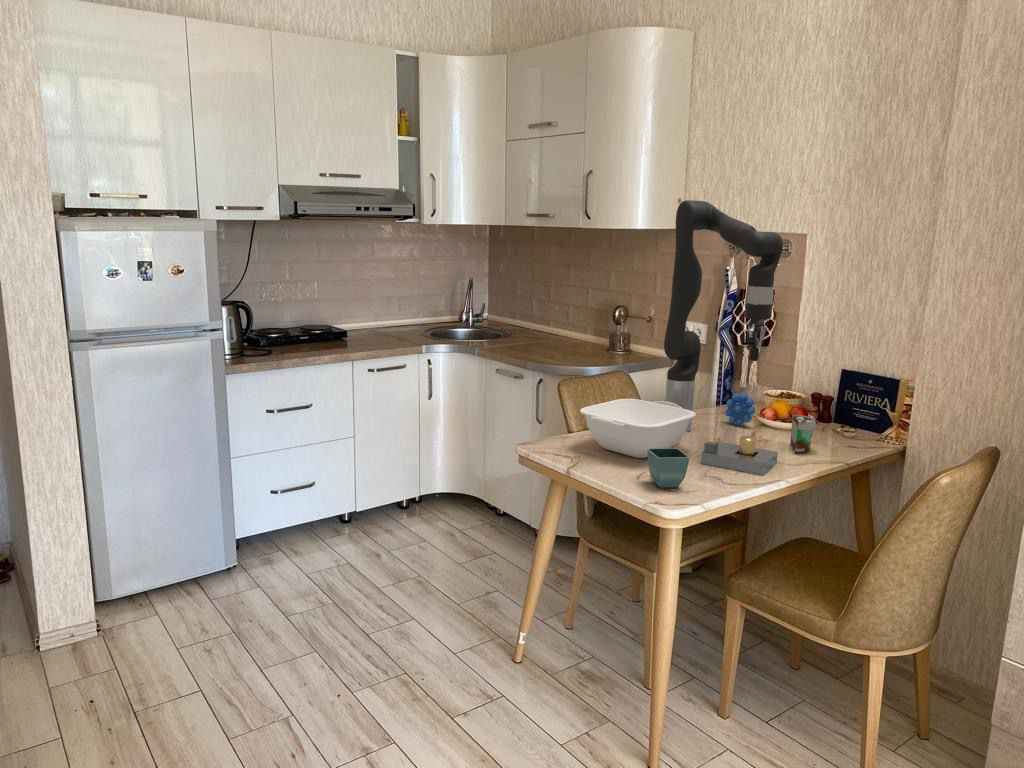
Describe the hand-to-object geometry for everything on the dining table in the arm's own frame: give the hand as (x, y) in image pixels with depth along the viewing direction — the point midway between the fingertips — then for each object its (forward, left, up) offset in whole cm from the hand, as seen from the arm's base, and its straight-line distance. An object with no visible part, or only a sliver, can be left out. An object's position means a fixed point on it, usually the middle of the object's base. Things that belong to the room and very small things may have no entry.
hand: (754, 360), depth 230 cm
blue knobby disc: (-12, +34, -29) cm, 46 cm away
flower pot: (-9, -41, -29) cm, 51 cm away
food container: (+13, +16, -29) cm, 36 cm away
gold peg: (+3, -10, -29) cm, 31 cm away
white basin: (-29, -16, -29) cm, 44 cm away
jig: (+1, -10, -29) cm, 31 cm away
